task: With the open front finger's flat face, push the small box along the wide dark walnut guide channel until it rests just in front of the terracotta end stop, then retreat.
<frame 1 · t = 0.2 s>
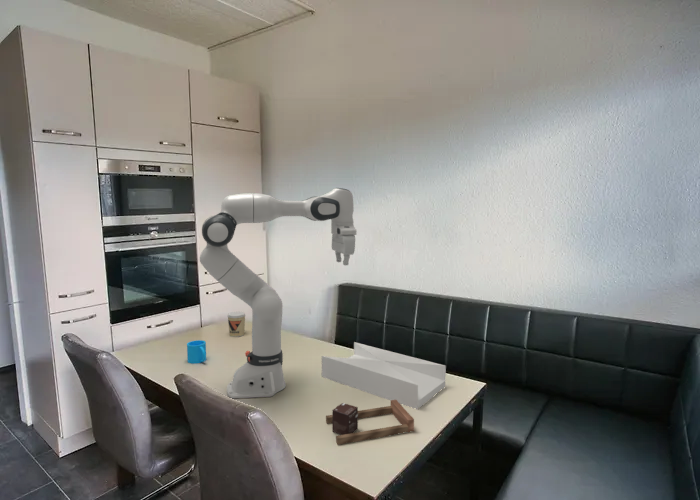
hand: (342, 263, 165), 48 cm above the table, tool pointing down, fingers open, 8 cm apart
guide channel: (365, 426, 132), on the table
coffee cup: (237, 335, 226), on the table
box: (345, 431, 130), on the table
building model: (381, 383, 165), on the table
mug: (199, 361, 187), on the table
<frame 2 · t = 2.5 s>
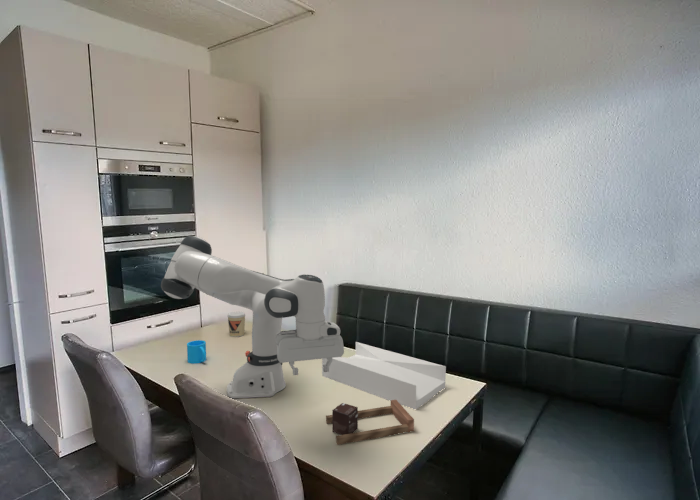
hand: (310, 372, 125), 20 cm above the table, tool pointing down, fingers open, 8 cm apart
nothing on the table moved.
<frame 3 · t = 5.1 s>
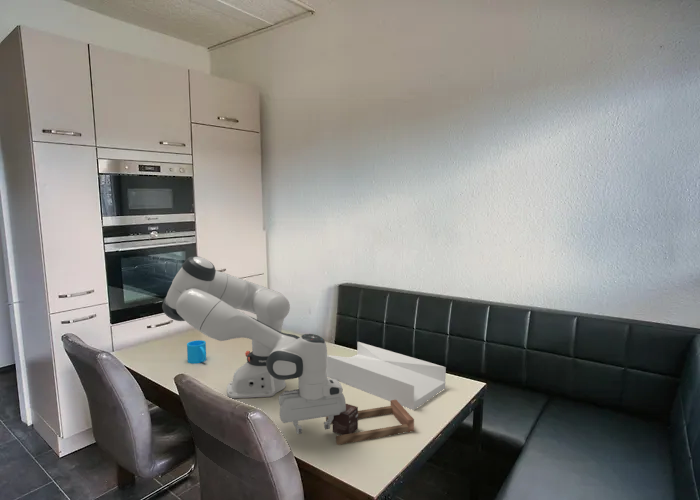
hand: (313, 430, 126), 2 cm above the table, tool pointing down, fingers open, 7 cm apart
box: (345, 431, 130), on the table, touching gripper
everything else where it was.
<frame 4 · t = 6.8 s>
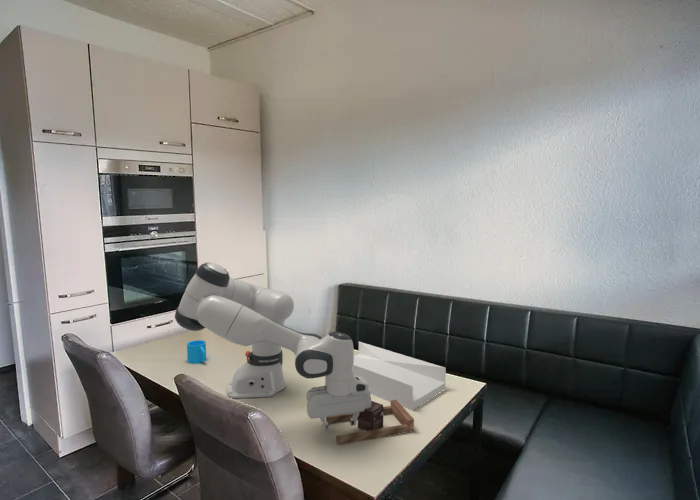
hand: (339, 426, 129), 2 cm above the table, tool pointing down, fingers open, 7 cm apart
box: (370, 427, 131), on the table, touching gripper
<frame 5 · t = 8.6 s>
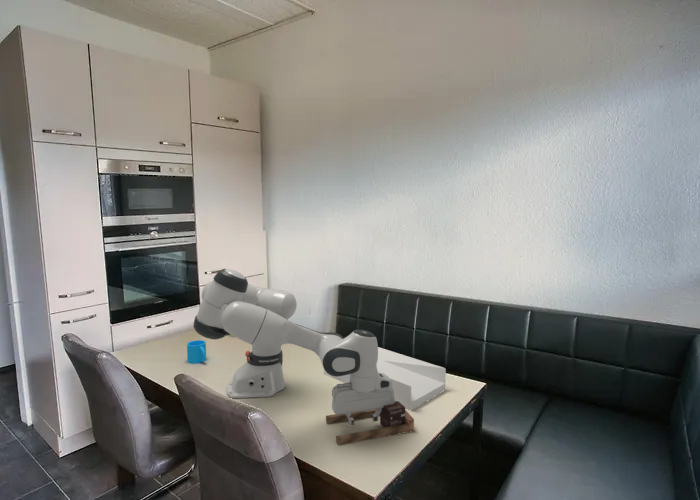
hand: (363, 422, 131), 2 cm above the table, tool pointing down, fingers open, 7 cm apart
box: (392, 426, 132), on the table, touching gripper, guide channel
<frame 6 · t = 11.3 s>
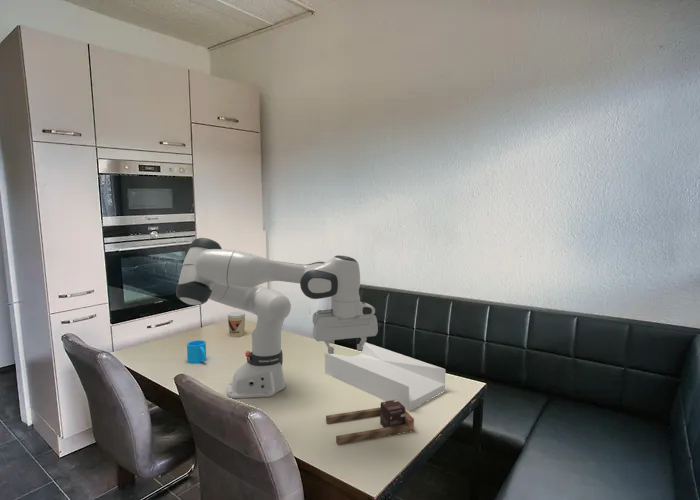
hand: (345, 351, 128), 25 cm above the table, tool pointing down, fingers open, 8 cm apart
box: (392, 426, 132), on the table
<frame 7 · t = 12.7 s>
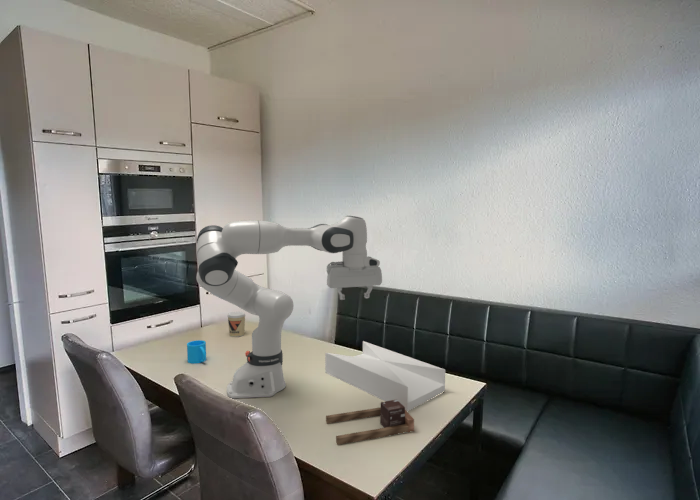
hand: (354, 298, 149), 37 cm above the table, tool pointing down, fingers open, 8 cm apart
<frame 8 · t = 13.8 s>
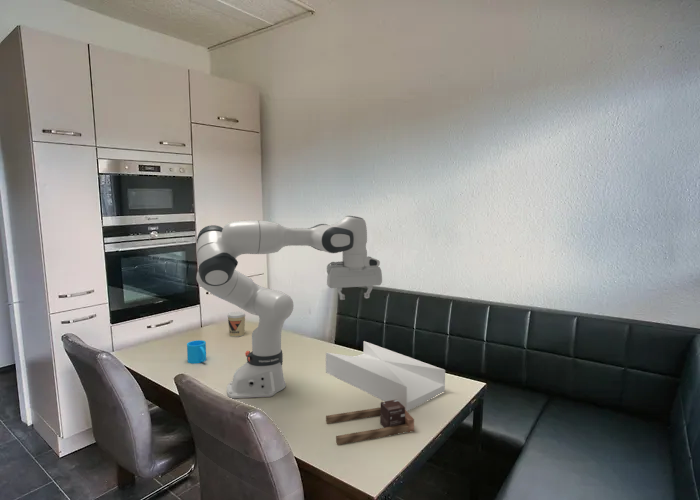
hand: (354, 298, 149), 37 cm above the table, tool pointing down, fingers open, 8 cm apart
at the end: box inside the target area (2.1 cm from its centre), on the table; box moved 15.4 cm from its start; box tilted 0° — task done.
